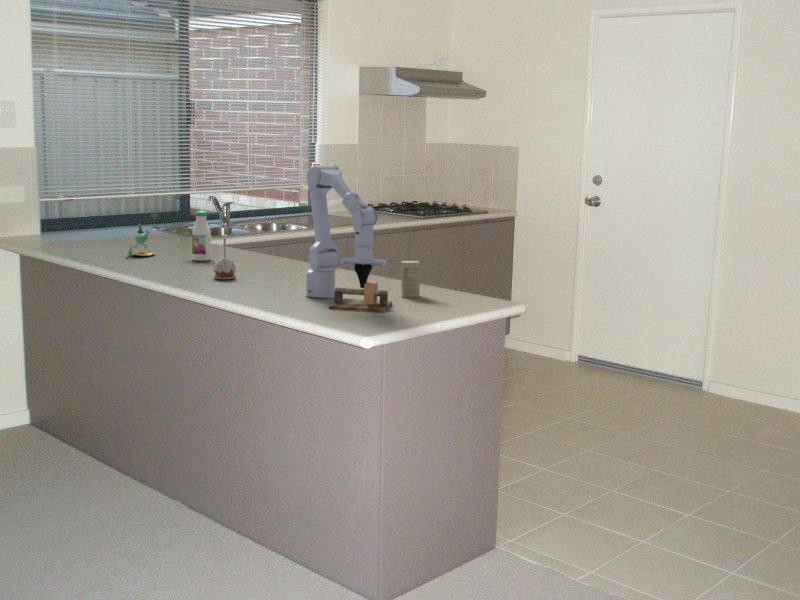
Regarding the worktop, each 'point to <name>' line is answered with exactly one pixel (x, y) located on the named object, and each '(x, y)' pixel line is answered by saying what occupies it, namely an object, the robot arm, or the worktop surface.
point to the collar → (370, 292)
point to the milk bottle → (201, 238)
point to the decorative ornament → (224, 267)
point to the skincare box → (410, 278)
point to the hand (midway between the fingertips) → (363, 287)
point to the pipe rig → (359, 301)
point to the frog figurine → (140, 239)
